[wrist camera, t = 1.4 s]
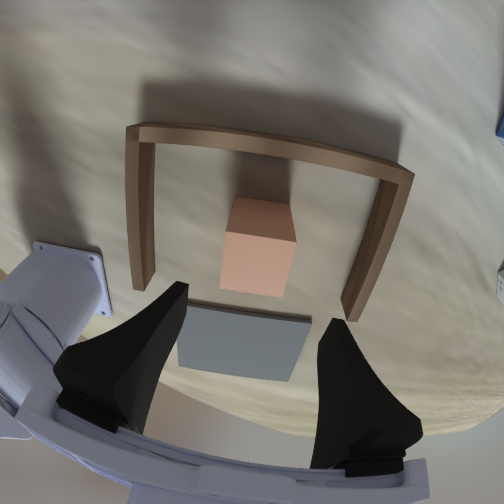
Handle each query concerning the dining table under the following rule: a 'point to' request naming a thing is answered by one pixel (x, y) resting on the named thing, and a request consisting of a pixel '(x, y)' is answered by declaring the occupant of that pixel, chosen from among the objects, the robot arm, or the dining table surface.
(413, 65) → the dining table surface
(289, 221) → the terracotta block
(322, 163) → the open side frame
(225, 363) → the grey mat
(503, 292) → the skincare box
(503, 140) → the medicine box
